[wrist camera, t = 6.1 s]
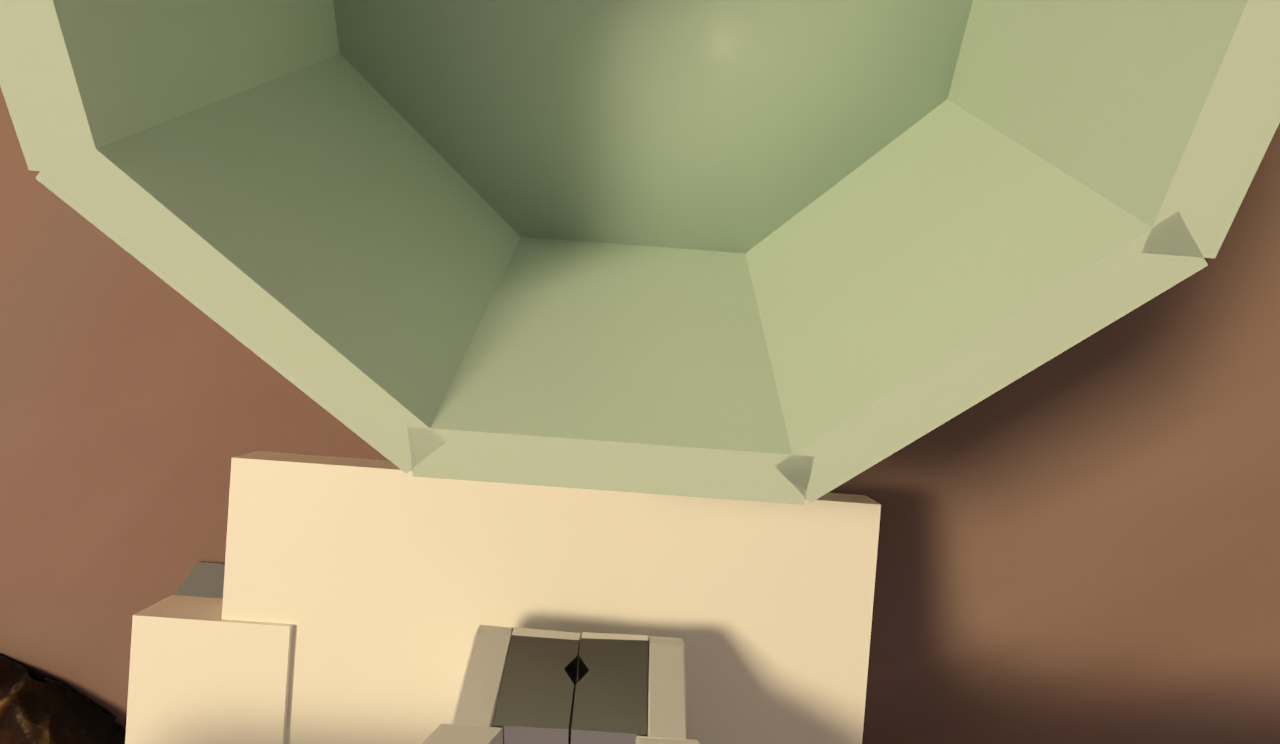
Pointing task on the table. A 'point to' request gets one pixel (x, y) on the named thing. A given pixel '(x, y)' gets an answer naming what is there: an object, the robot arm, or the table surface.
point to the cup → (651, 207)
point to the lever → (500, 604)
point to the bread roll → (49, 712)
